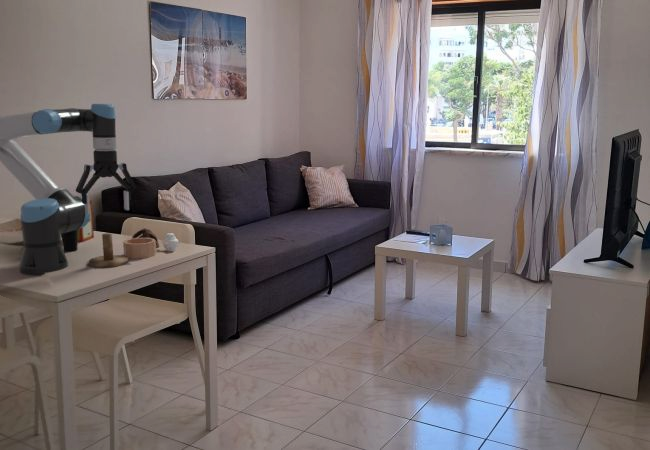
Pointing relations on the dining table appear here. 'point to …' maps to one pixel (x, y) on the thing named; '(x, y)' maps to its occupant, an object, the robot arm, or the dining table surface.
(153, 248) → the terracotta bowl
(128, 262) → the grey mat
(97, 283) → the dining table surface
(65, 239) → the drinking cup
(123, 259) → the walnut lid
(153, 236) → the pottery mug
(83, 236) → the baking soda box
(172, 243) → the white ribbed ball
